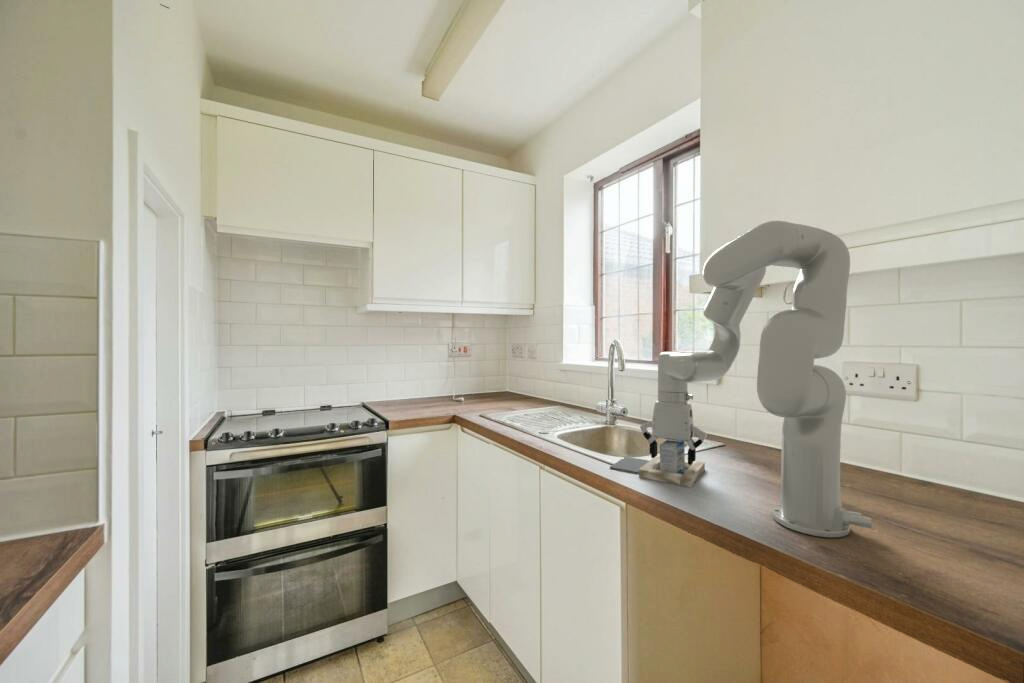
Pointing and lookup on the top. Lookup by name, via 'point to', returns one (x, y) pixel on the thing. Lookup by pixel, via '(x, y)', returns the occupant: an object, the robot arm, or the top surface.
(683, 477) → the pocket board
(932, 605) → the top surface
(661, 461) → the medicine box
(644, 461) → the rubber mat
